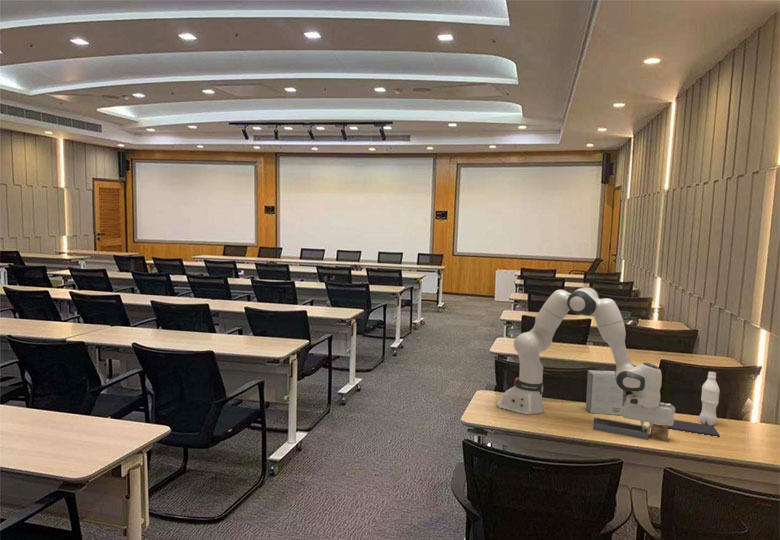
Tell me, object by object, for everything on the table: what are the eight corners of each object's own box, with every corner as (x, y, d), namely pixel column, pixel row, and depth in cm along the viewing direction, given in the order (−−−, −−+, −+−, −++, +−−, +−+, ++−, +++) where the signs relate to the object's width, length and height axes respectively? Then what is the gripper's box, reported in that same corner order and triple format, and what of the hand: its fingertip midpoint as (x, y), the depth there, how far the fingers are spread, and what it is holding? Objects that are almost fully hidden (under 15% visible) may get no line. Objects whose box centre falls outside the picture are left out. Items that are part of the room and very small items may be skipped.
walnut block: (651, 438, 216) (652, 427, 216) (650, 434, 222) (651, 423, 222) (667, 441, 214) (668, 430, 214) (666, 436, 220) (666, 425, 219)
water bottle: (696, 423, 239) (701, 371, 237) (701, 419, 244) (705, 369, 242) (714, 427, 234) (719, 375, 232) (718, 424, 239) (722, 372, 237)
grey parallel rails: (593, 429, 224) (593, 424, 224) (593, 422, 233) (594, 417, 233) (647, 439, 215) (648, 433, 215) (646, 431, 224) (646, 426, 224)
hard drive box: (616, 410, 252) (619, 371, 251) (622, 415, 244) (625, 375, 243) (584, 408, 254) (587, 369, 252) (589, 413, 246) (592, 373, 245)
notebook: (665, 429, 230) (719, 438, 222) (665, 426, 230) (719, 435, 222) (661, 420, 241) (712, 429, 234) (661, 417, 241) (713, 425, 234)
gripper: (674, 402, 218) (672, 433, 219) (623, 394, 226) (620, 424, 227) (676, 406, 212) (673, 438, 213) (623, 398, 220) (621, 429, 221)
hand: (646, 431), depth 220 cm, fingers closed
